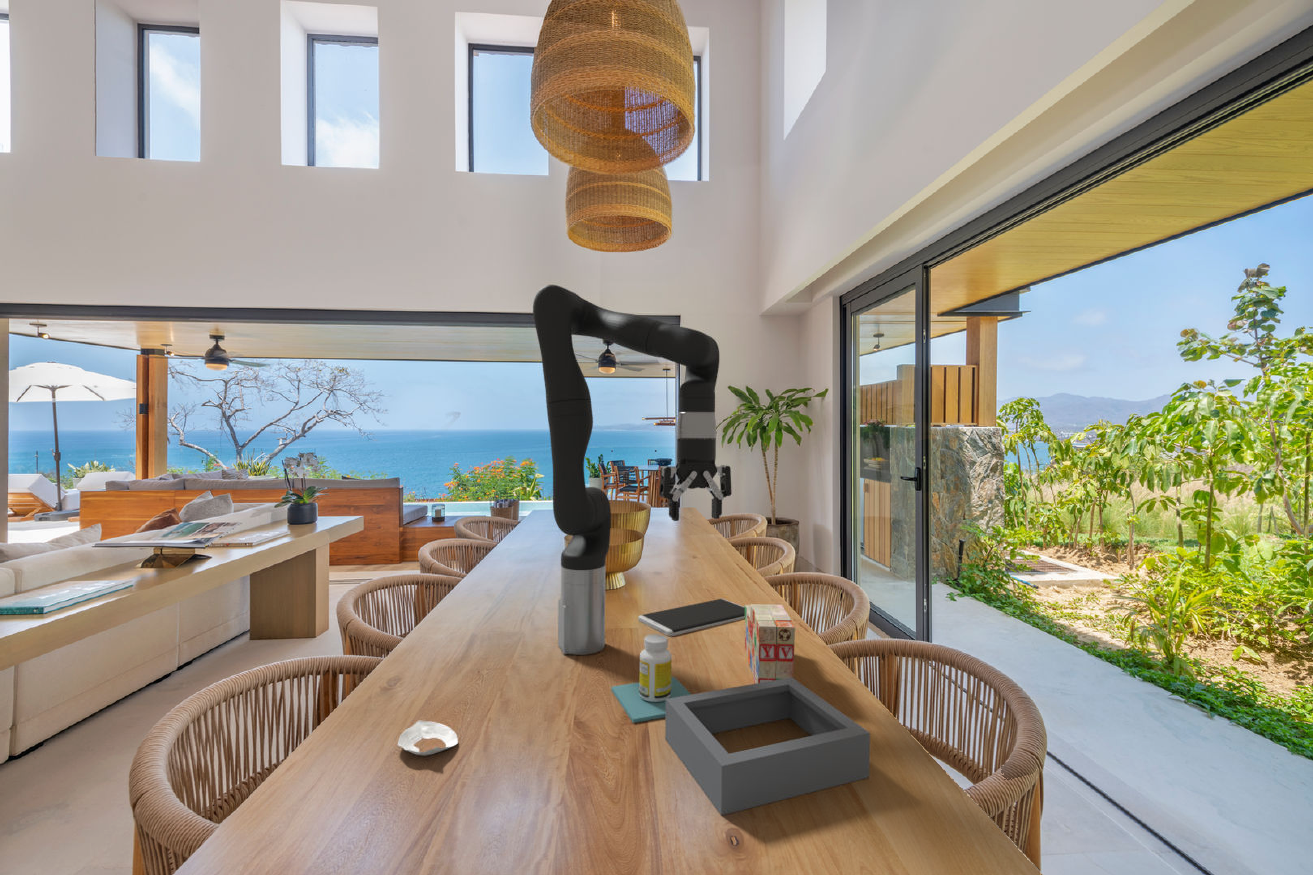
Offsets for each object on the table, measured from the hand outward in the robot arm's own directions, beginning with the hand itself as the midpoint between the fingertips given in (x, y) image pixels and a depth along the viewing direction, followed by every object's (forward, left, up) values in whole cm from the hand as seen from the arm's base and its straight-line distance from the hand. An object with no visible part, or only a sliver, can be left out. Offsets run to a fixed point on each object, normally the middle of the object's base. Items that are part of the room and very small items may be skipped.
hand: (695, 519), depth 113 cm
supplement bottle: (-12, -11, -28) cm, 33 cm away
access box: (-4, -32, -28) cm, 43 cm away
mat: (-12, -11, -28) cm, 33 cm away
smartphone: (+13, +25, -29) cm, 40 cm away
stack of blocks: (+12, -7, -29) cm, 32 cm away
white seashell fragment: (-48, -13, -29) cm, 58 cm away
